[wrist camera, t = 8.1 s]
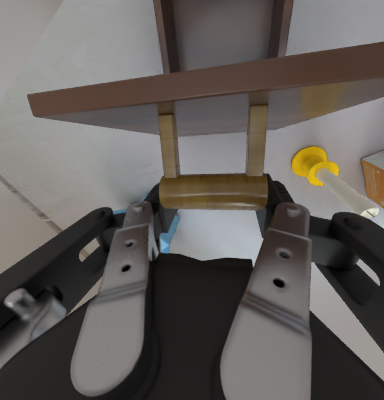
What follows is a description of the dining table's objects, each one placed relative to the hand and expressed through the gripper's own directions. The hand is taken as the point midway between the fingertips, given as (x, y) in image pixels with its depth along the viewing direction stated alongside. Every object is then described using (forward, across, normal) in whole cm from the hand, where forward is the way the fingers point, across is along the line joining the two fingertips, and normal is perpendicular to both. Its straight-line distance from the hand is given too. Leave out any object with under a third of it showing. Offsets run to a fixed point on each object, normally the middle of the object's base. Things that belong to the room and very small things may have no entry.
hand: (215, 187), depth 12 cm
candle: (+21, -14, +6) cm, 26 cm away
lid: (+5, 0, -4) cm, 6 cm away
